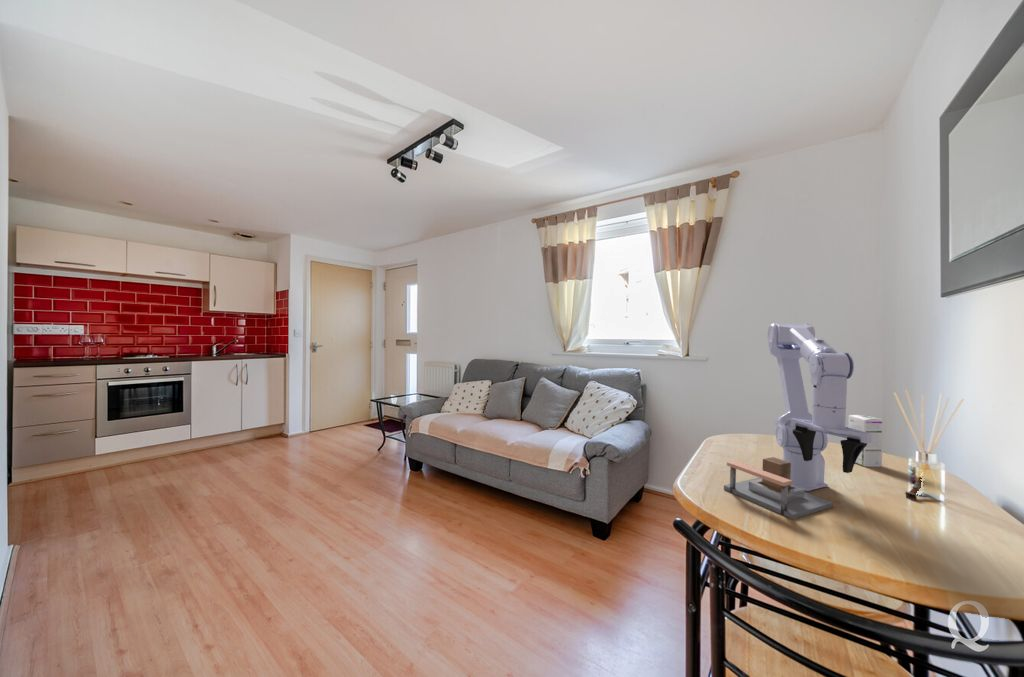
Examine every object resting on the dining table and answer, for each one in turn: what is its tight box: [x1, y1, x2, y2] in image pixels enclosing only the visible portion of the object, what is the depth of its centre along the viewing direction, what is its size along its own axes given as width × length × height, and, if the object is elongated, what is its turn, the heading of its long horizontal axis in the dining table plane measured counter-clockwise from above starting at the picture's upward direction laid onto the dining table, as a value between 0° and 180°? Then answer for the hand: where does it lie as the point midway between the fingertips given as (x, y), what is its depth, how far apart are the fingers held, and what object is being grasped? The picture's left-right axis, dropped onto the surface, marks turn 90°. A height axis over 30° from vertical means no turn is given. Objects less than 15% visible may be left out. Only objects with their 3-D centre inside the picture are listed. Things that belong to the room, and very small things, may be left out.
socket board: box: [723, 460, 834, 520], centre depth 90 cm, size 16×16×8 cm
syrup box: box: [847, 414, 884, 468], centre depth 114 cm, size 6×6×14 cm
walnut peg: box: [761, 456, 791, 492], centre depth 90 cm, size 4×4×8 cm
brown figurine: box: [905, 476, 922, 501], centre depth 92 cm, size 2×8×4 cm, turn 117°
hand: (826, 465), depth 84 cm, fingers open, 7 cm apart
